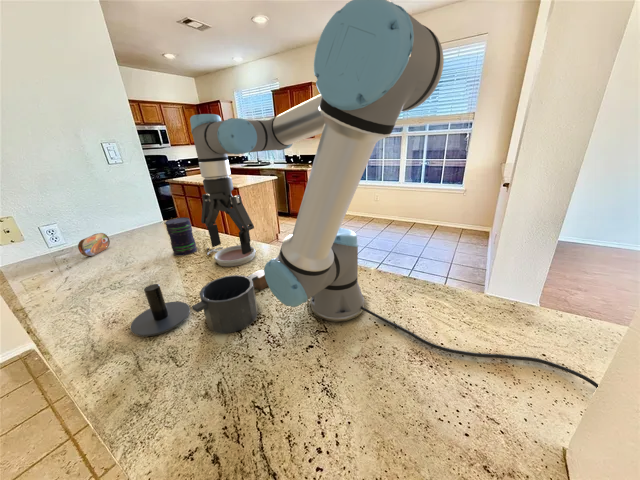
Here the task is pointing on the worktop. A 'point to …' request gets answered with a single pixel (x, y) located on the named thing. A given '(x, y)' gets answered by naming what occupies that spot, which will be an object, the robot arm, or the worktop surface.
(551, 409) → the worktop surface
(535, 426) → the worktop surface
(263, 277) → the block
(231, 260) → the frying pan
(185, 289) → the worktop surface
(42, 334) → the worktop surface
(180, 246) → the storage jar
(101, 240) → the tin
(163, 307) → the lid
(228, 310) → the pot
